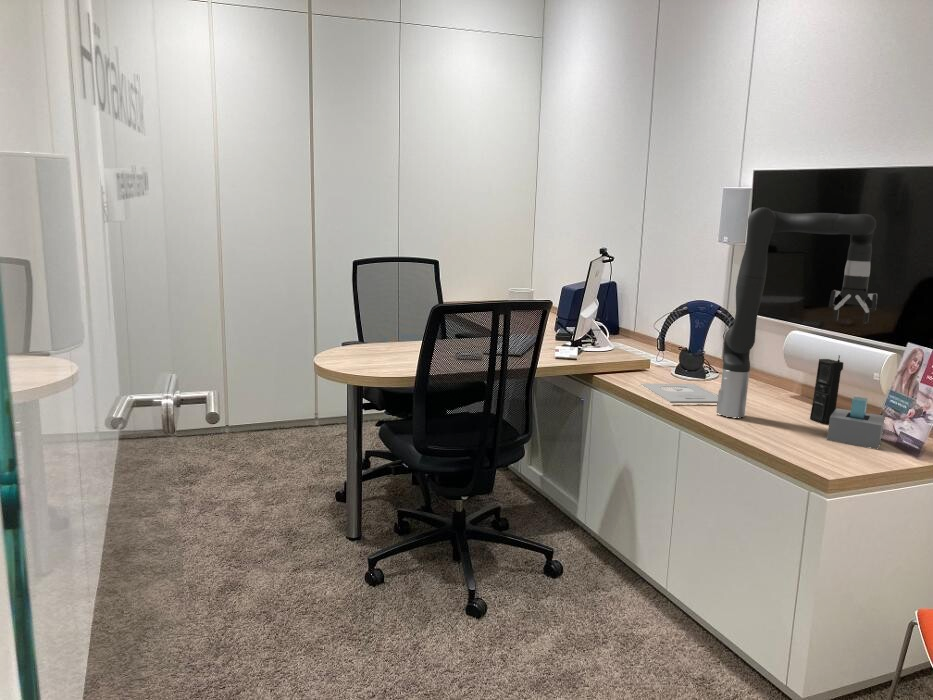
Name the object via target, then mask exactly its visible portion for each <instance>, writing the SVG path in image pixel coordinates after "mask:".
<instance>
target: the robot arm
mask: <svg viewBox="0 0 933 700" xmlns="http://www.w3.org/2000/svg"><path fill="white" fill-rule="evenodd" d="M876 228H877V220H876V219H875V217H874V216H873V215H871V214H868V213H854V214H853V213H851V214H847V213H846V214H843V213H835V212H834V213H832V212H811V213H810V212H809V213H805V212H804V213H789V212H782V211H781V212H780V211H776V210H775V211H774V210H772V209H770V208H769V207H764V206H762V207H758V208H755V209H754V210H752V211H751V213H750V214H749V215H748V218H747V231H746V240H745V241H746V242H745V249H744V253H743V255H742V259H741V260H740V261H741V262H740V266H739V270H738V275H737V280H736V284H735V316H734V319H733V325H732V326H731V327H729V328H728V329H727V331H725V334H724V339H723V350H722V351H723V352H722V373H721V382H720V388H719V389H718V393H717V395H718V403H717V405H716V406H717V407H716V413H719V414H721V415H724V416H728V417H736V418H738V417H739V418H740V419H742V418H741V417H744V418H745V414H746V407H747V406H746V405H747V396H748V388H749V379H750V371H751V361H750V354H751V350H752V348H753V347H754V345H755V342H756V332H757V331H756V330H757V321H758V320H757V319H758V314H759V309H760V305H761V302H762V298H763V293H764V290H765V283H766V280H767V279H766V278H767V271H768V251H769V245H770V241H771V238H772V234H774V233H781V232H782V233H784V232H789V233H790V232H791V233H793V232H795V233H804V234H805V233H806V234H814V235H815V234H819V235H847V236H849V235H850V238H849V239H850V240H849V247H848V250H847V257H846V263H845V267H844V275H843V282H842V287H841V291H840V290H836V289H833V290H831V293H830V296H829V297H830V298H829V301H828V308H831V309H833V313H832V314H833V316H832V319H833V320H834V321H836V322H837V321H838V320H839V314H840V308H841V307H843V306H844V305H845V304H847V305H855V306H858V305H860V306H861V308H862V309H863V310H864V313H863V321H862V325H866V323H869V319H870V318H869V317H870V314H871V313H874V312H877V306H878V305H877V304H878V293H877V292H876V293H869V292H868V288H869V282H870V281H869V280H870V274H871V261H872V253H873V246H872V245H873V244H872V243H873V239H874V233H875V230H876ZM839 295H840V297H841V298H842V299H841V300H840V301H839V302H838V303H837V304H835V299H836V298H837V297H838V296H839ZM867 298H869V299H870V300H871V308H869V305H867V303H866V301H865V300H866V299H867ZM716 413H715V414H716Z"/></svg>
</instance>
